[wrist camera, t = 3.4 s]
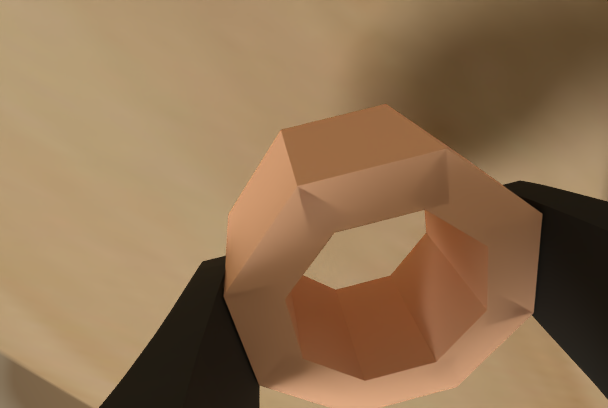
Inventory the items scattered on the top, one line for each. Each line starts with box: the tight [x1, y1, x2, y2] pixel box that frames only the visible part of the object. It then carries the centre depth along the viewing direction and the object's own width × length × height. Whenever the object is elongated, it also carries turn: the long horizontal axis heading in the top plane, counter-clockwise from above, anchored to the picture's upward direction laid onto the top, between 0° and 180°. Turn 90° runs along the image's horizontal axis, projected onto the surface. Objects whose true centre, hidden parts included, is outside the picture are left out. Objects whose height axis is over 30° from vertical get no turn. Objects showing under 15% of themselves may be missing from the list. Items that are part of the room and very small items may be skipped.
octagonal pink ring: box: [224, 104, 542, 408], centre depth 9 cm, size 6×6×3 cm
